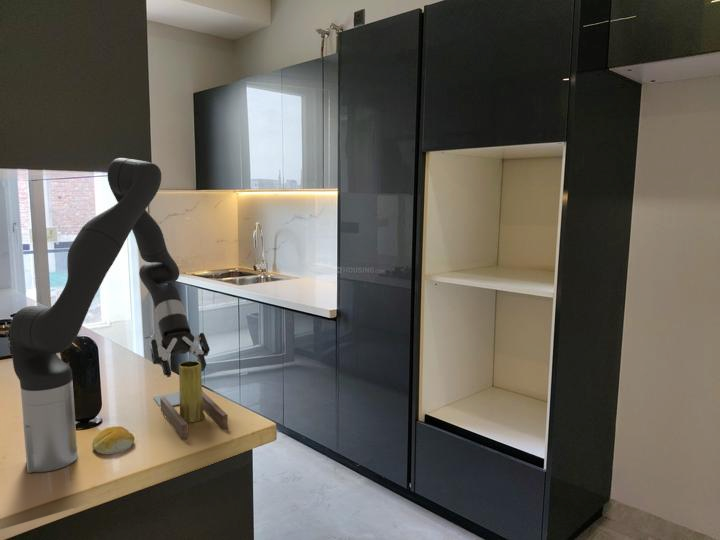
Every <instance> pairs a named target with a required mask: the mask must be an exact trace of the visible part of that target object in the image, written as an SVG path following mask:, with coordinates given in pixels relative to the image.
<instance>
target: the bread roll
mask: <svg viewBox="0 0 720 540" xmlns="http://www.w3.org/2000/svg"><path fill="white" fill-rule="evenodd" d="M135 439H136V438H135V436H134V434H133V433H132V432H130V431H129V430H128V429H126V428H125V427H124V426H123V427H122V426H117V425H115V426H114V425H113V426H110V427H106V428H104V429H102V430H100V431H99V432H98V433H97V434H96V435H95V436H94V438H93V440H92V442H91V443H92V445H91V446H92V449H93V450H94V451H96V453H99V454H101V455H113V454H118V453H121V452H125V451H127V450H129V449H130V448H131V447H132V446H133V444H134V443H135ZM124 450H125V451H124Z"/></svg>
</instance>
